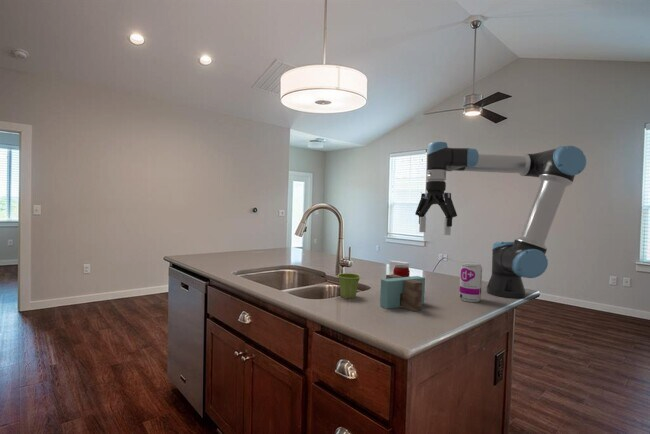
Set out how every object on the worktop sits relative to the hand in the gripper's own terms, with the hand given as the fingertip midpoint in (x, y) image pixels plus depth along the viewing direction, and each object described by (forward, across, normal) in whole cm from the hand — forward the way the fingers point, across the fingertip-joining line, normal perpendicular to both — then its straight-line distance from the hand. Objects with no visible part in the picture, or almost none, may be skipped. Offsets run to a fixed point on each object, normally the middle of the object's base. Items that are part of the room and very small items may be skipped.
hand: (434, 233), depth 140 cm
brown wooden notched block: (+27, +2, -17) cm, 32 cm away
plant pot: (+27, -16, -30) cm, 43 cm away
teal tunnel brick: (+27, +2, -17) cm, 32 cm away
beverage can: (+27, -11, -7) cm, 30 cm away
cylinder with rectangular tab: (+27, -21, 0) cm, 34 cm away
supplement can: (+27, +7, +14) cm, 31 cm away
